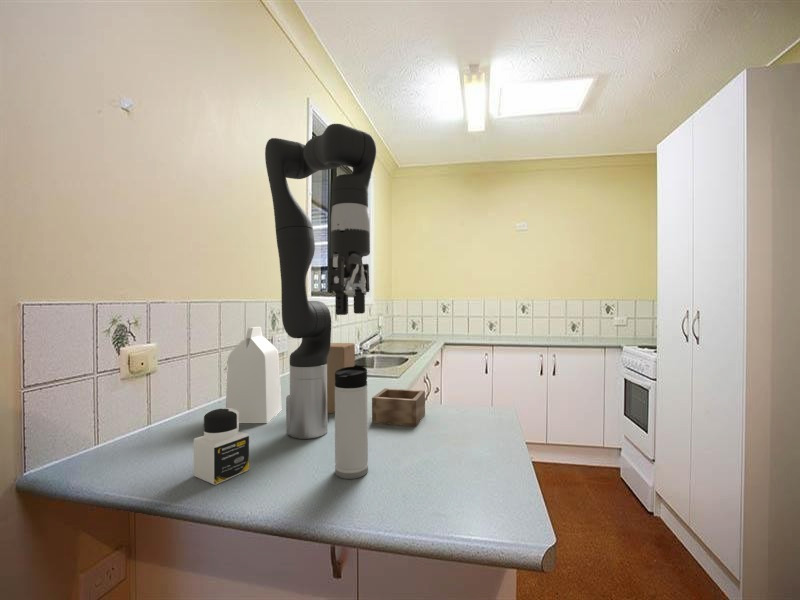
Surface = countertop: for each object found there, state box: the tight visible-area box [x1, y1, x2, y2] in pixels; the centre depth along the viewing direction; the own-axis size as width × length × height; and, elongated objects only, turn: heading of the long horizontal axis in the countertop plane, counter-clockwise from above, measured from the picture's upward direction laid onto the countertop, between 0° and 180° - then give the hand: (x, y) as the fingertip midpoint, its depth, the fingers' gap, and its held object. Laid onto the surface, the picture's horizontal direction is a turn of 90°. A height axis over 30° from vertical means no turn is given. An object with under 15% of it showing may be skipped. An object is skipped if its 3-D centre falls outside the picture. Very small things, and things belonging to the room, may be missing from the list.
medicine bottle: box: [193, 407, 250, 486], centre depth 70 cm, size 7×7×12 cm
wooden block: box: [327, 342, 356, 415], centre depth 112 cm, size 10×10×20 cm
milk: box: [225, 326, 283, 424], centre depth 105 cm, size 12×12×26 cm
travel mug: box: [334, 364, 369, 480], centre depth 70 cm, size 6×7×20 cm
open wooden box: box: [371, 388, 426, 427], centre depth 103 cm, size 12×11×7 cm
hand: (351, 314), depth 70 cm, fingers open, 8 cm apart
